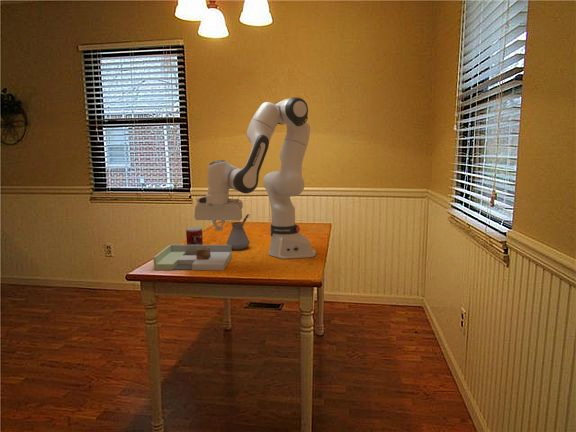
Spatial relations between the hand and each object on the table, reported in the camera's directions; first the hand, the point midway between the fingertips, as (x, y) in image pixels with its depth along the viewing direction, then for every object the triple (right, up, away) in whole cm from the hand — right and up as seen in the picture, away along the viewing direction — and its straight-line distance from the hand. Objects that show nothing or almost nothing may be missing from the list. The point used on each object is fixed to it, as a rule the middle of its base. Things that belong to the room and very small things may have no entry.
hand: (218, 230), depth 172 cm
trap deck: (-11, -15, +3) cm, 19 cm away
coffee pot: (+6, -9, +33) cm, 35 cm away
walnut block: (-7, -12, +3) cm, 14 cm away
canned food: (-16, -11, +25) cm, 32 cm away
